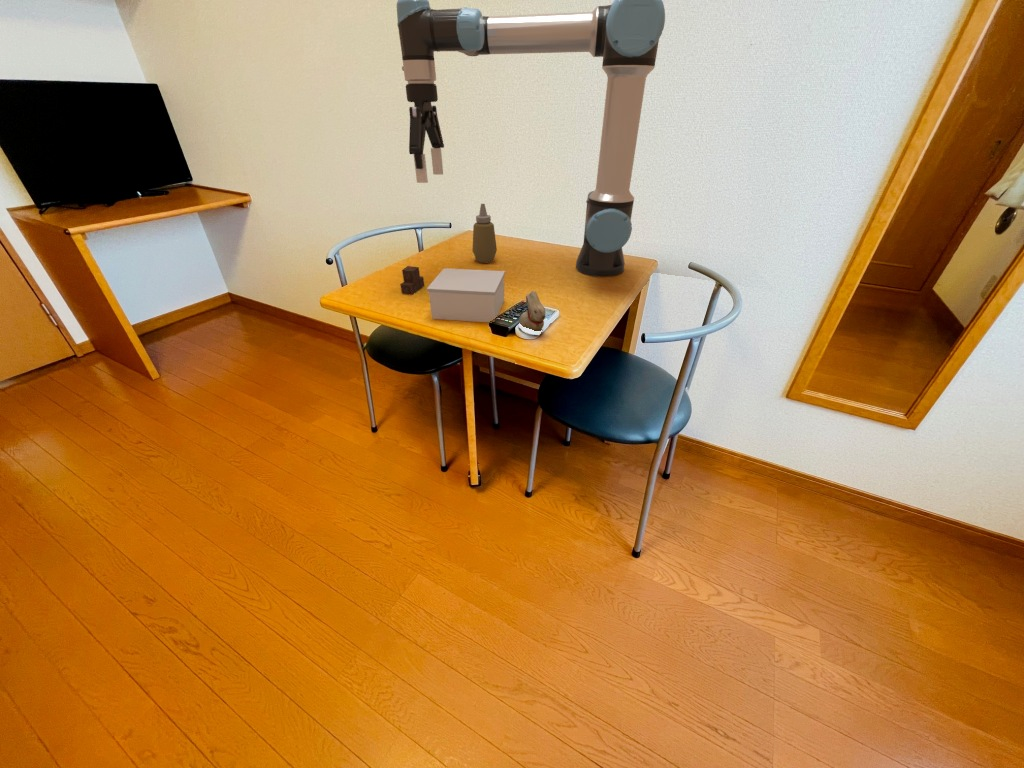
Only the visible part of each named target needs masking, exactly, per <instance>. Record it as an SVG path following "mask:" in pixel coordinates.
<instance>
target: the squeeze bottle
mask: <svg viewBox="0 0 1024 768" xmlns="http://www.w3.org/2000/svg"><path fill="white" fill-rule="evenodd" d="M491 219H492V218H491V215H490V214H488V212H487V208H486V204H485V203H480V208H479V214H478V215H476V216H475V221H476V222H475V223H473V233H472V253H473V255H474V258H475V261H476V262H478V263H480V264H481V263H482V264H489V263H492V262H494V261H495V257H496V255H497V254H496V253H497V240H496V233H495V232H496V231H495V224H494V223H493V222H492V221H491ZM493 260H494V261H493Z"/></svg>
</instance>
